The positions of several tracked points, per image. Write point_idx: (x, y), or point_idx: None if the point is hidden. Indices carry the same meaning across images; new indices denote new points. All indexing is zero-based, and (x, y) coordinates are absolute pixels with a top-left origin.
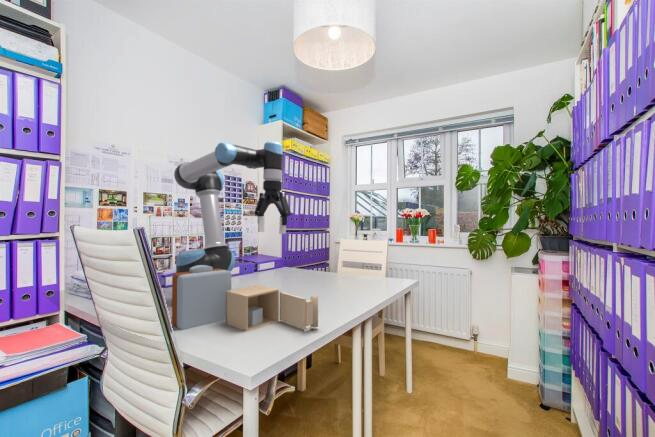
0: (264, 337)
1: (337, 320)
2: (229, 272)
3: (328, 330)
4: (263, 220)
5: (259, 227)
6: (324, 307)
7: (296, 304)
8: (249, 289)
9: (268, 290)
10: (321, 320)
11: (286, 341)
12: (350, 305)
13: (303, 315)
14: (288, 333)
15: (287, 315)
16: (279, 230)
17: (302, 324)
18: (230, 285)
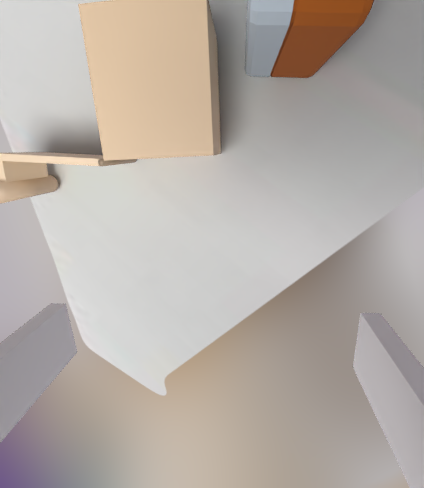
0: (75, 64)
1: (69, 256)
2: (249, 2)
3: (31, 197)
4: (418, 485)
5: (380, 348)
6: (160, 308)
7: (36, 154)
8: (166, 80)
9: (109, 122)
10: (90, 234)
11: (28, 87)
12: (132, 353)
13: (24, 152)
14: (65, 123)
15: (94, 155)
16: (46, 320)
17: (44, 152)
18: (246, 35)
